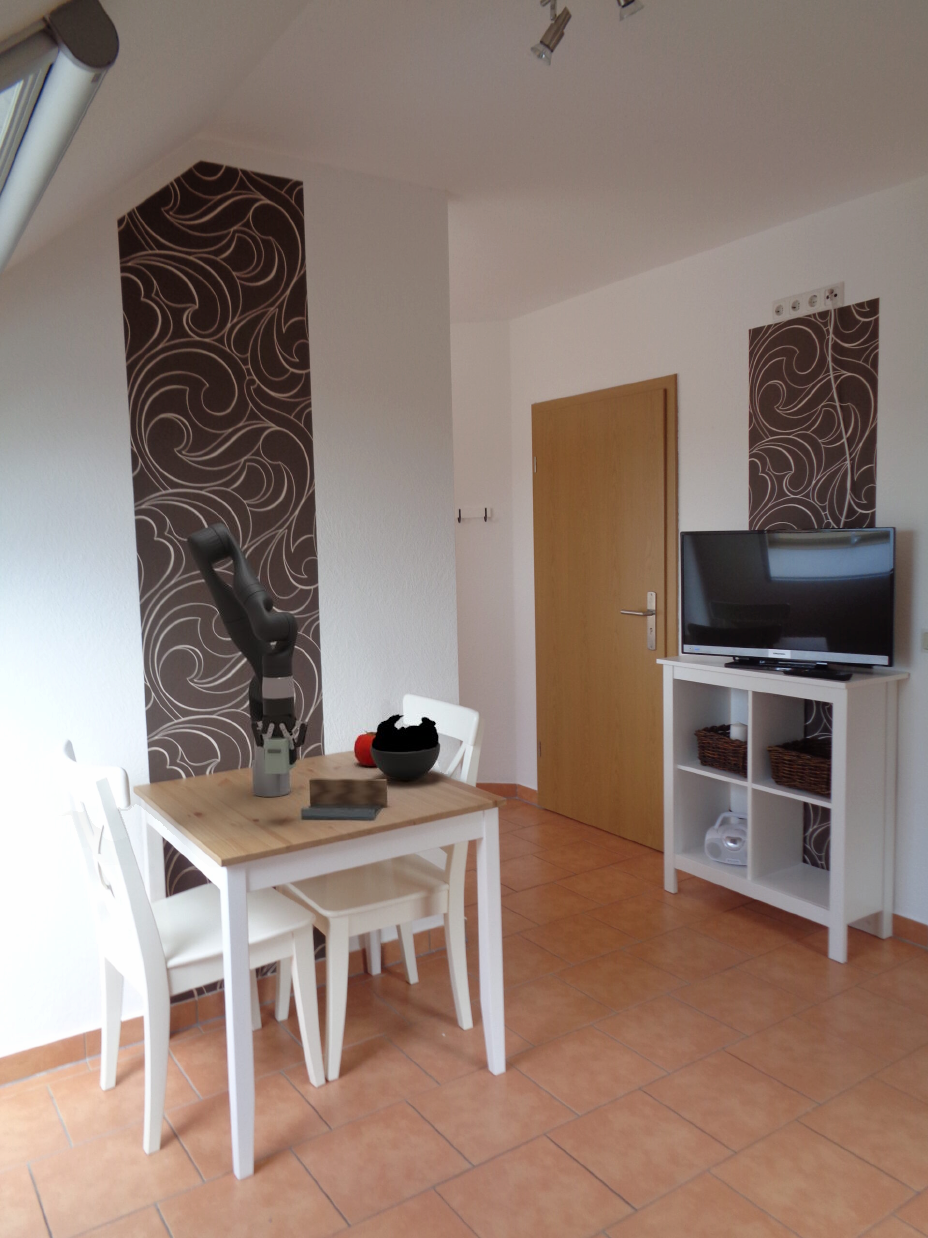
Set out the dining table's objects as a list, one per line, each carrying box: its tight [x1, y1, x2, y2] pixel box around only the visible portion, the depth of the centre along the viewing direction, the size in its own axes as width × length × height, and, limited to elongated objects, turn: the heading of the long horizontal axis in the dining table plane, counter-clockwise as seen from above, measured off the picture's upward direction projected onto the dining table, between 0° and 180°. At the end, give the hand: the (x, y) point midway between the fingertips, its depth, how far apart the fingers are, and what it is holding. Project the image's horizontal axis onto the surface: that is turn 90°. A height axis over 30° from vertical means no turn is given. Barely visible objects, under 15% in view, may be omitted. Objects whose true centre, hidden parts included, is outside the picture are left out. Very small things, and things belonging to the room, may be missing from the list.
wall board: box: [308, 777, 388, 809], centre depth 233 cm, size 20×2×7 cm, turn 83°
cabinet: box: [264, 733, 297, 774], centre depth 220 cm, size 5×9×8 cm, turn 173°
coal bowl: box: [370, 713, 441, 782], centre depth 259 cm, size 20×20×19 cm
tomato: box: [353, 730, 377, 767], centre depth 279 cm, size 12×12×10 cm
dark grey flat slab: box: [300, 804, 383, 821], centre depth 227 cm, size 18×11×2 cm, turn 83°
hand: (281, 763), depth 220 cm, fingers closed on cabinet, 5 cm apart
